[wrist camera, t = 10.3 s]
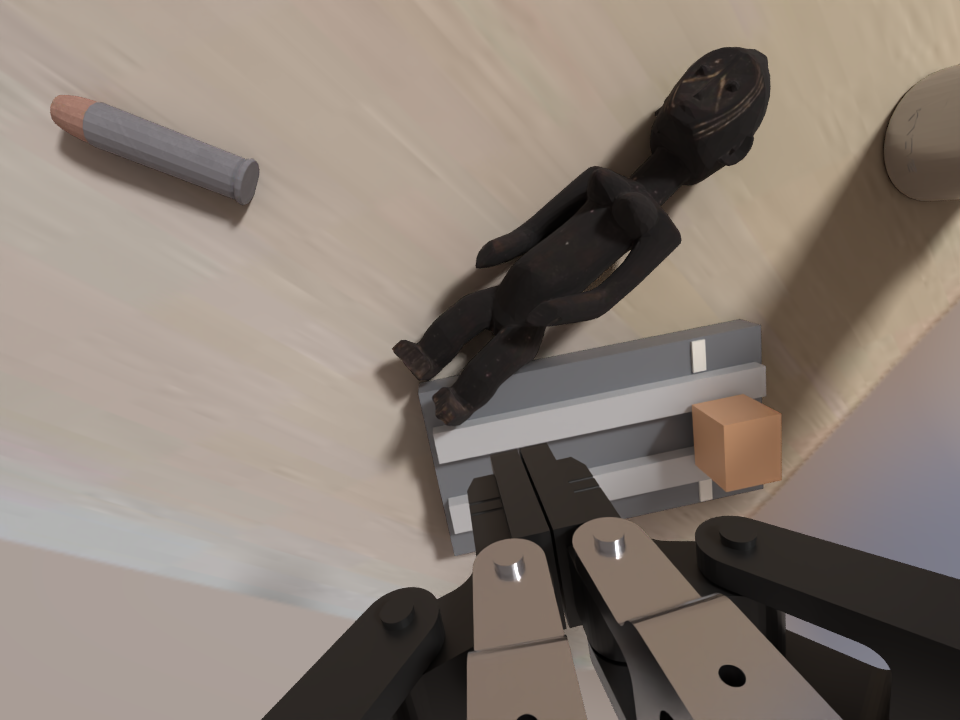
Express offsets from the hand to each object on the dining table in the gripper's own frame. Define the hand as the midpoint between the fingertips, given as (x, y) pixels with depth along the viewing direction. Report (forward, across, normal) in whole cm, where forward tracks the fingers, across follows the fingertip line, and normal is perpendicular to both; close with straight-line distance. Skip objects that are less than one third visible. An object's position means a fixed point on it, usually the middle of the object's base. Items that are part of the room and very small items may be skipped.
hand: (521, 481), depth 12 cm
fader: (+22, -17, +12) cm, 30 cm away
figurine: (+25, -9, -4) cm, 27 cm away
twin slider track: (+25, -9, +12) cm, 29 cm away
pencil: (+25, +16, -15) cm, 33 cm away
